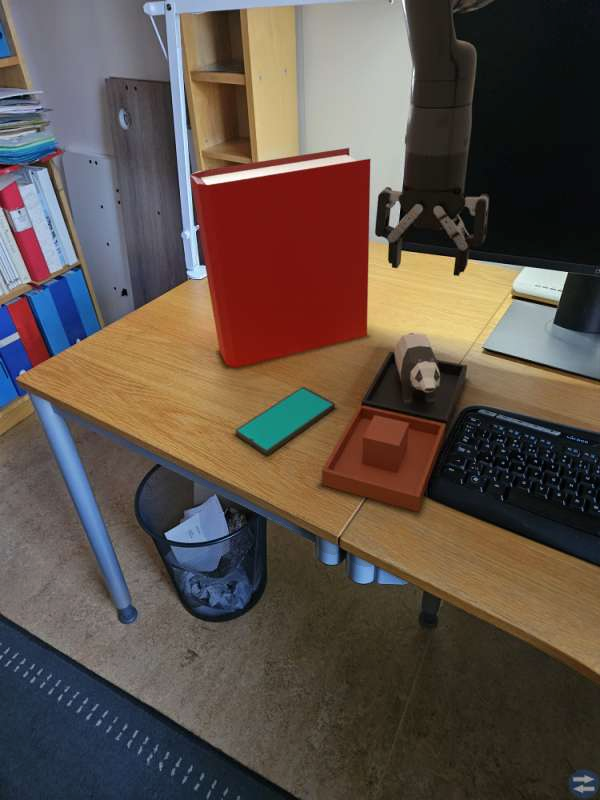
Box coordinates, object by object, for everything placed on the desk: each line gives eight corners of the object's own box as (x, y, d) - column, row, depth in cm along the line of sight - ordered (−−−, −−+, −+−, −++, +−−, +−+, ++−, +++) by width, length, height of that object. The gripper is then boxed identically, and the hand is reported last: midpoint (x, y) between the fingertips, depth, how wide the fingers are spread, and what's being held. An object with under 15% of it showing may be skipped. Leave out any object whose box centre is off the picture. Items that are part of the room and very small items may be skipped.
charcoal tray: (465, 379, 94) (467, 365, 92) (445, 434, 83) (447, 420, 81) (389, 364, 98) (389, 351, 97) (360, 415, 88) (361, 401, 86)
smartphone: (335, 403, 89) (266, 451, 81) (335, 407, 89) (267, 456, 81) (302, 386, 93) (233, 430, 85) (302, 390, 94) (234, 434, 85)
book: (349, 316, 113) (349, 147, 93) (366, 335, 107) (370, 158, 87) (218, 347, 106) (188, 172, 87) (228, 369, 100) (199, 186, 80)
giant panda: (392, 370, 95) (395, 321, 89) (424, 369, 95) (429, 319, 89) (407, 426, 84) (412, 373, 78) (444, 424, 84) (451, 371, 78)
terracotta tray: (444, 438, 82) (446, 423, 81) (417, 512, 72) (419, 497, 70) (359, 418, 87) (359, 404, 85) (322, 485, 76) (321, 470, 74)
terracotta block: (407, 449, 80) (409, 422, 77) (397, 473, 76) (399, 445, 73) (373, 441, 81) (374, 414, 78) (362, 464, 78) (362, 437, 75)
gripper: (503, 139, 67) (483, 265, 77) (389, 134, 73) (384, 253, 82) (493, 155, 62) (473, 288, 72) (370, 149, 67) (368, 274, 77)
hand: (426, 269), depth 77 cm, fingers open, 8 cm apart
